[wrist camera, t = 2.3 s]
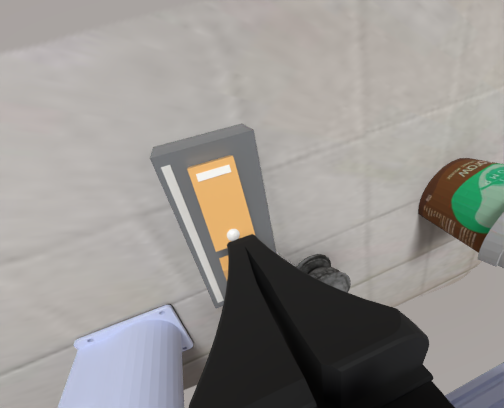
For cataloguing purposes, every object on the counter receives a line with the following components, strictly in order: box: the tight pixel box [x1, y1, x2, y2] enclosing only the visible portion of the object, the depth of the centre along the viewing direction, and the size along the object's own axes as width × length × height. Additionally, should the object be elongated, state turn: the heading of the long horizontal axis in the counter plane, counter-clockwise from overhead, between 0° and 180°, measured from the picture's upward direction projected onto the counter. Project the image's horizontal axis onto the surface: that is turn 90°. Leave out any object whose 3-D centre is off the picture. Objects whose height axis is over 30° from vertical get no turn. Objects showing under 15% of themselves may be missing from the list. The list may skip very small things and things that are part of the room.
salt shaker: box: [296, 254, 351, 293], centre depth 24 cm, size 6×6×12 cm
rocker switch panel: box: [150, 124, 276, 308], centre depth 22 cm, size 7×22×4 cm, turn 11°
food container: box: [419, 158, 504, 268], centre depth 24 cm, size 12×6×10 cm, turn 119°
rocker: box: [187, 155, 255, 252], centre depth 16 cm, size 3×6×1 cm, turn 11°
